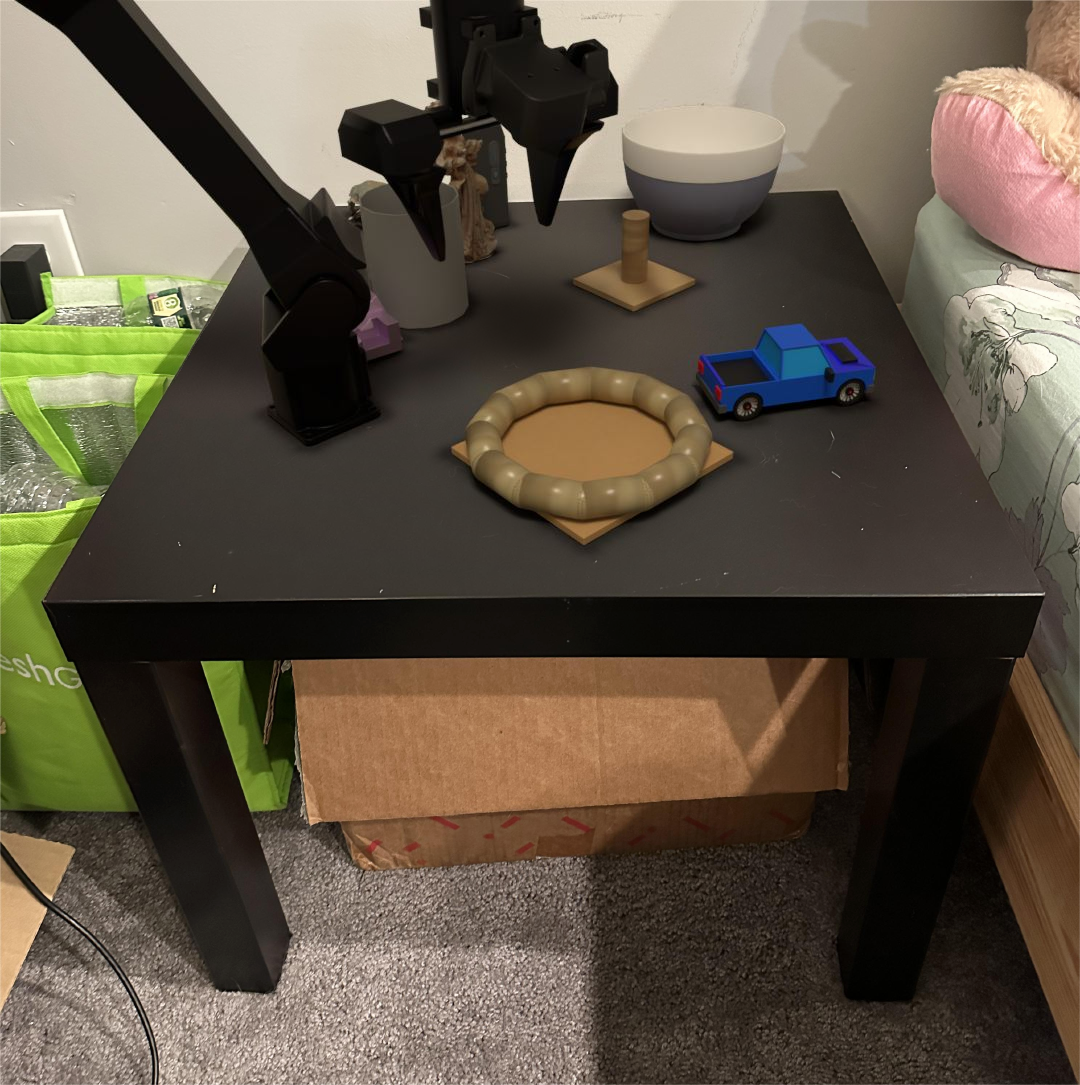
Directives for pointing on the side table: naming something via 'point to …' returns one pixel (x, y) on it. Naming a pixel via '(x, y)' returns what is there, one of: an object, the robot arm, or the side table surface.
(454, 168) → the figurine
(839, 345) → the toy car
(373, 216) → the cup
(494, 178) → the walkie-talkie
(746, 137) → the bowl
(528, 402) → the segmented tan ring
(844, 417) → the side table surface
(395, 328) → the purple jagged faceted chunk
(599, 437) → the mat
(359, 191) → the decorative insect model
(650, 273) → the ring toss peg
